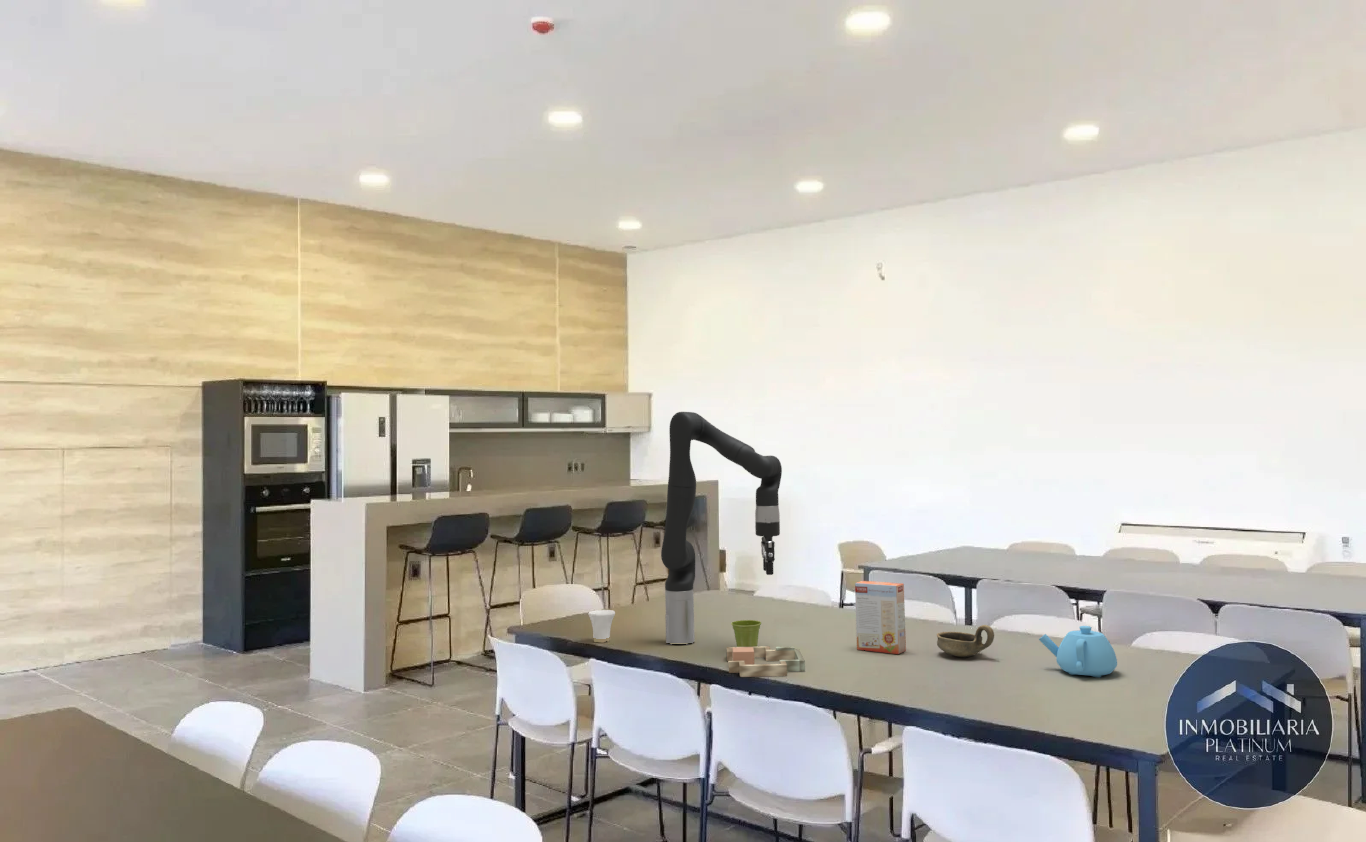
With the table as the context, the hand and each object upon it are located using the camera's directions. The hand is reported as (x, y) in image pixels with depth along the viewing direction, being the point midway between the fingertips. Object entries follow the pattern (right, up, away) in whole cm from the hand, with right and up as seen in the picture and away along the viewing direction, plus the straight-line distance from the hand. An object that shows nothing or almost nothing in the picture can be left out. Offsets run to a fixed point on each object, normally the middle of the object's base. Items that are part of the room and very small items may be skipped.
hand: (768, 572), depth 303 cm
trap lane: (-3, -24, -19) cm, 31 cm away
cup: (-53, -26, +21) cm, 63 cm away
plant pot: (-6, -25, +2) cm, 26 cm away
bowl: (+57, -23, -13) cm, 63 cm away
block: (-9, -24, -19) cm, 32 cm away
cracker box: (+34, -24, -3) cm, 42 cm away
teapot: (+82, -22, -34) cm, 91 cm away
